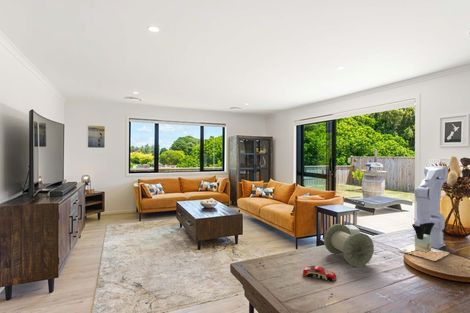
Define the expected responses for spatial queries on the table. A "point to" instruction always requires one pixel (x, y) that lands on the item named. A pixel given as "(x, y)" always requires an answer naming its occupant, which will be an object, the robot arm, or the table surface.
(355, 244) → the spool
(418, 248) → the maple block
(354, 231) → the ink box
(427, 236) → the sage block
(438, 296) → the table surface
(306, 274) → the race car
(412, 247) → the baseplate
